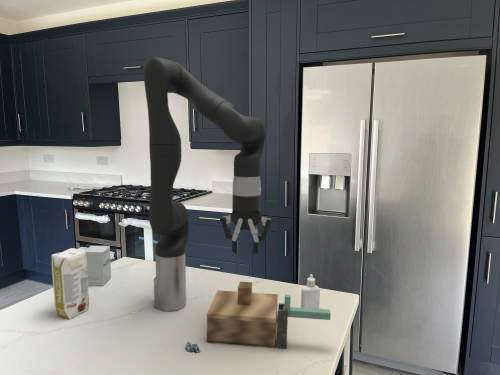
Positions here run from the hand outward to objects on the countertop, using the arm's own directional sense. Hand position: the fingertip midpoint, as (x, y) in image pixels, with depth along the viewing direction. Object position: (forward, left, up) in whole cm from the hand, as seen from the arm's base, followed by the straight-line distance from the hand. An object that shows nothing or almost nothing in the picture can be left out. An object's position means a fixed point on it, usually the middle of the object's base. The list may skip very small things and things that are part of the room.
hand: (245, 253), depth 100 cm
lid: (0, -1, -15) cm, 15 cm away
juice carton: (-53, +2, -23) cm, 58 cm away
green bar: (+17, -6, -14) cm, 23 cm away
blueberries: (-12, -11, -23) cm, 28 cm away
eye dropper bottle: (+19, +13, -23) cm, 32 cm away
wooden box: (+2, -1, -22) cm, 22 cm away
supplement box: (-57, +24, -23) cm, 66 cm away
